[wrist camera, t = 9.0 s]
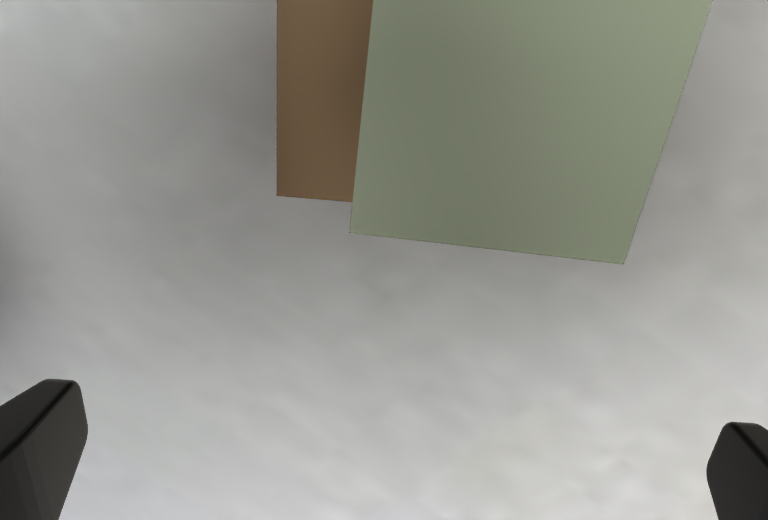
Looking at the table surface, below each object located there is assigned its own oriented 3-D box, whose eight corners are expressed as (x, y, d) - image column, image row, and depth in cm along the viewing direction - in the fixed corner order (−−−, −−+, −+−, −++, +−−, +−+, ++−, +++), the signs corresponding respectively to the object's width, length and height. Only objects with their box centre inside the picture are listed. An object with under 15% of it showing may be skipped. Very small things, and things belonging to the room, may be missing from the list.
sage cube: (365, 127, 17) (349, 232, 12) (388, -91, 15) (381, -81, 9) (556, 151, 17) (623, 264, 12) (610, -61, 15) (724, -34, 10)
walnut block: (292, 156, 21) (276, 195, 18) (297, -190, 16) (277, -205, 14) (578, 181, 21) (604, 222, 18) (659, -156, 17) (707, -164, 14)
